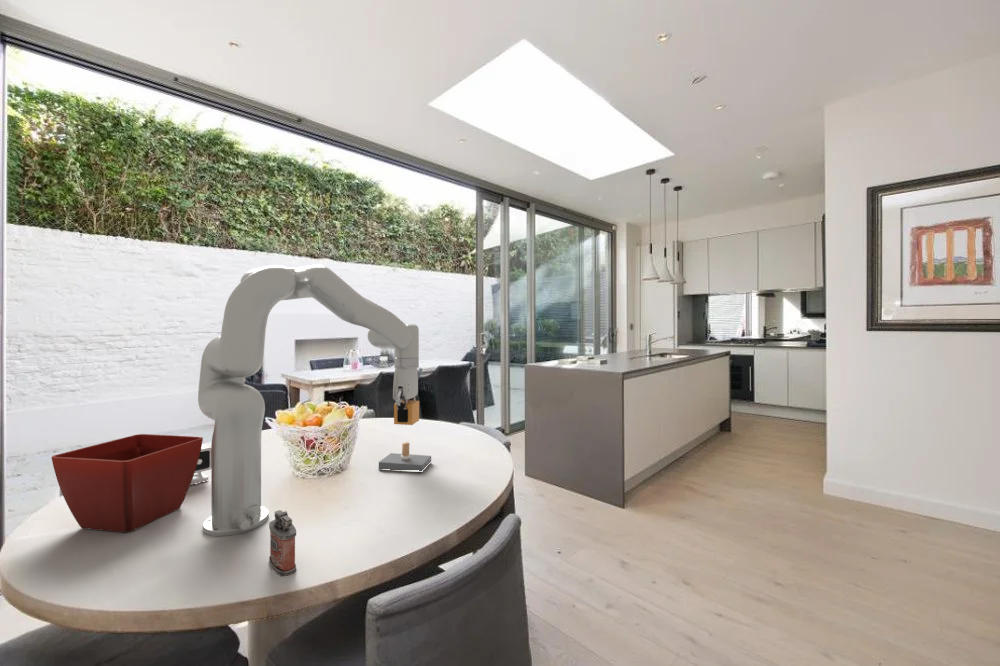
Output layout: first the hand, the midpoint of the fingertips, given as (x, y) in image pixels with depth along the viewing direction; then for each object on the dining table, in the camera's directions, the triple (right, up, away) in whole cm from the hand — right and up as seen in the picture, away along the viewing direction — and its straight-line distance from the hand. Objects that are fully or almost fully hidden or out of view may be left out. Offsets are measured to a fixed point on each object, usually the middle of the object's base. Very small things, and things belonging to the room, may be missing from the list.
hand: (406, 418), depth 131 cm
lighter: (-11, -17, -54) cm, 58 cm away
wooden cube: (0, -1, 0) cm, 1 cm away
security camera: (-57, -15, -15) cm, 60 cm away
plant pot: (-55, -16, -36) cm, 68 cm away
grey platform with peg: (0, -15, 0) cm, 15 cm away
